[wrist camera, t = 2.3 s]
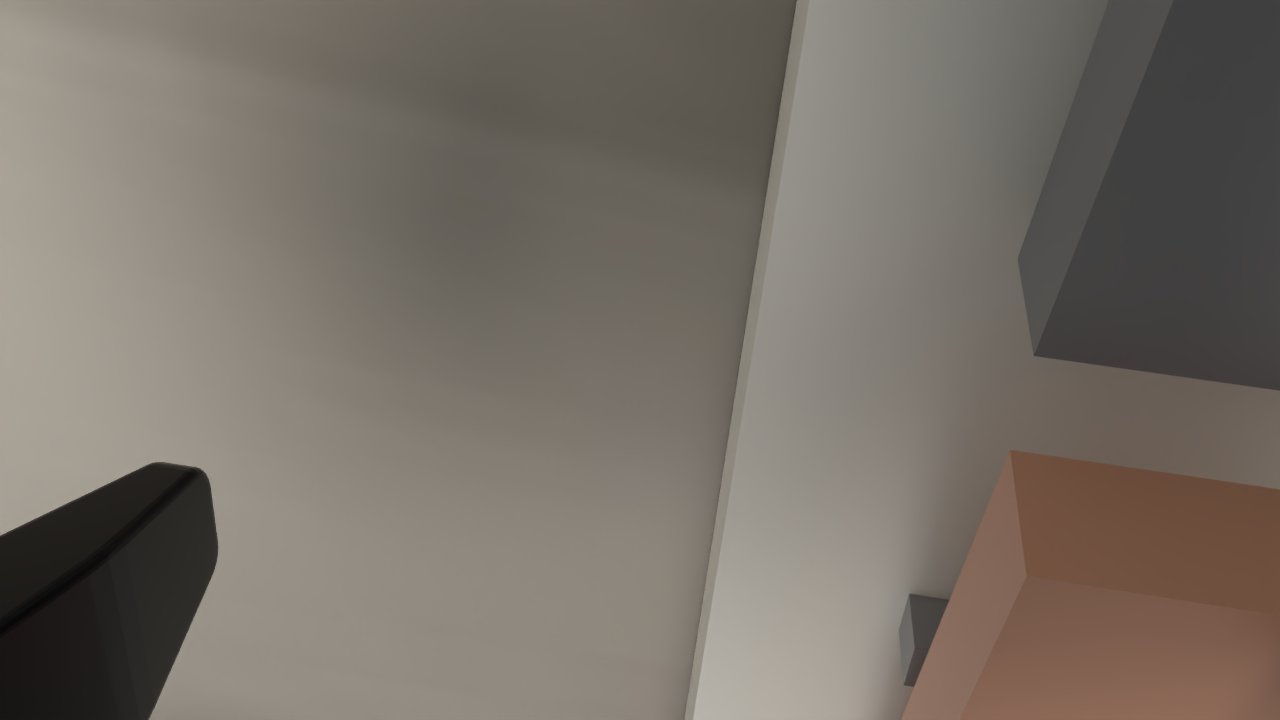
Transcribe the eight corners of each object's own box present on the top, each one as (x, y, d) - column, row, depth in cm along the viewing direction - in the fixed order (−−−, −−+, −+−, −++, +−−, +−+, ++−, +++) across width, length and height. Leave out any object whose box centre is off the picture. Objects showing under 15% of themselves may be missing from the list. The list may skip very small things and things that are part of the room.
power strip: (1012, 1097, 27) (1056, 1415, 22) (635, 1028, 28) (596, 1321, 23) (1939, -784, 10) (2984, -1216, 5) (930, -857, 11) (1026, -1306, 6)
